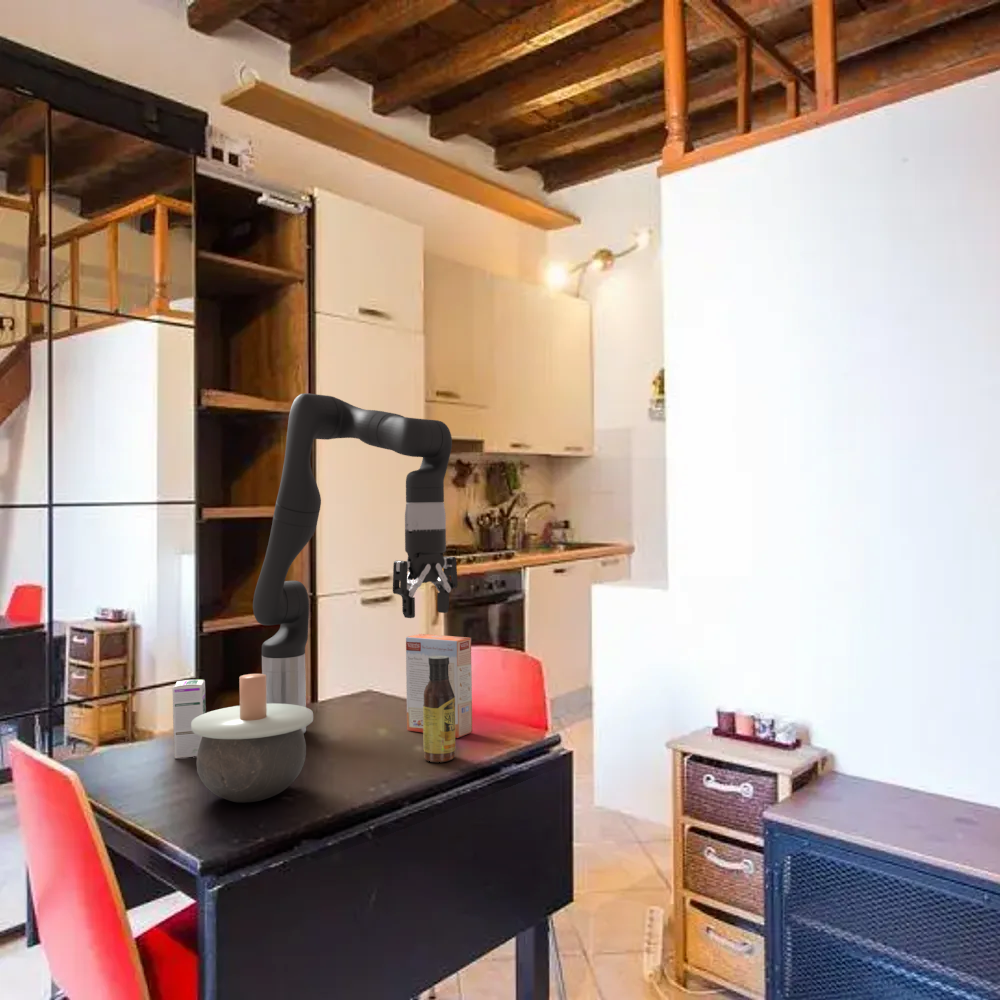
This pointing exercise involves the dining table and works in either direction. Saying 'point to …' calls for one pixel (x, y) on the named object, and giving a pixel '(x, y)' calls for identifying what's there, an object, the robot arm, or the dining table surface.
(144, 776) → the dining table surface
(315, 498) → the robot arm
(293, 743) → the bowl
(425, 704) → the sauce bottle
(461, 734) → the cracker box
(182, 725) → the syrup box
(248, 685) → the lid
